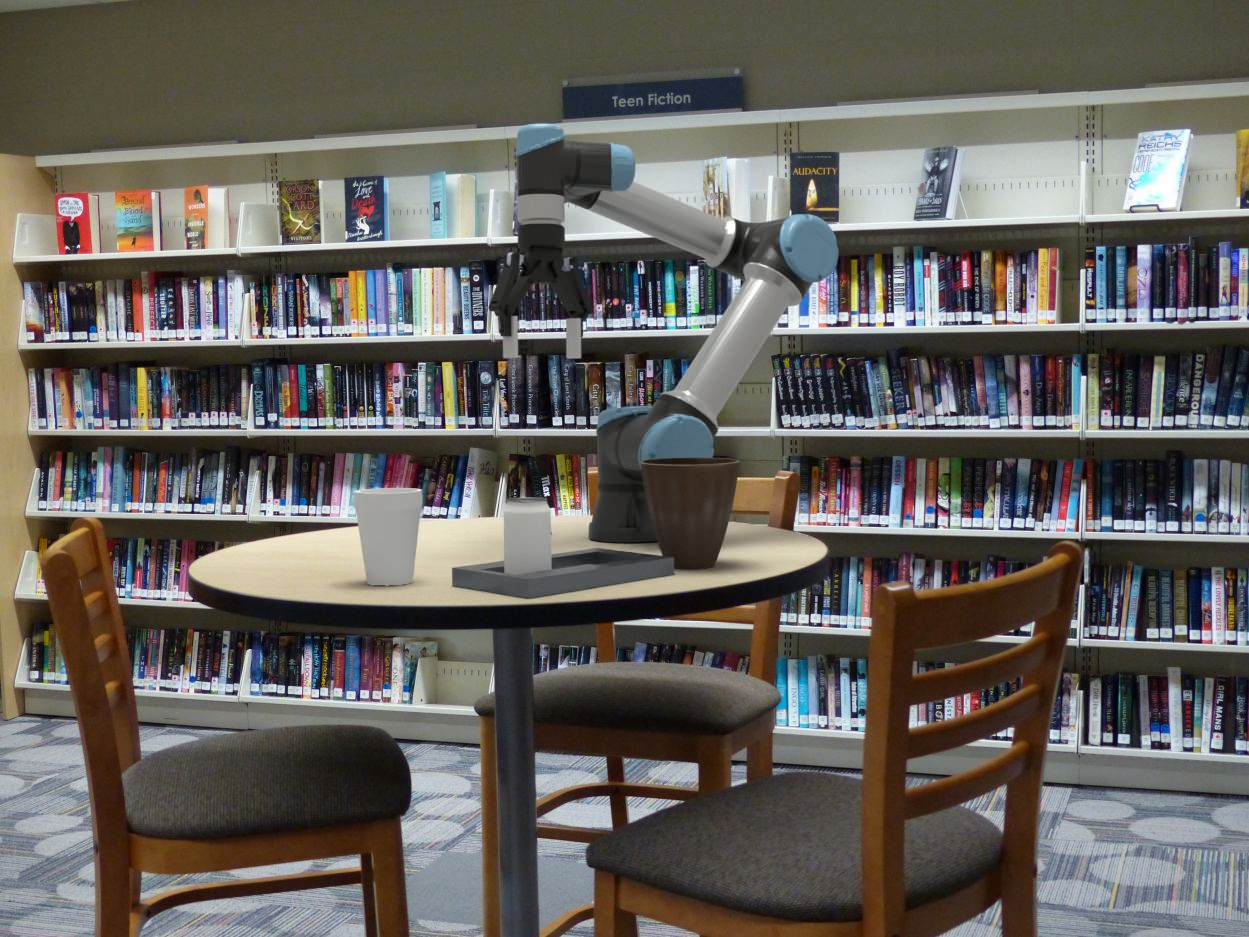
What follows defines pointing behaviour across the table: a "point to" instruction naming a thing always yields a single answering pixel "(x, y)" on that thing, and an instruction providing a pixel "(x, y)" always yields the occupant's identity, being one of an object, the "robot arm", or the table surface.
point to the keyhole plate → (565, 573)
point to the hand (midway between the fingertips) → (542, 358)
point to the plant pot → (690, 506)
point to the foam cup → (388, 533)
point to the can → (527, 536)
